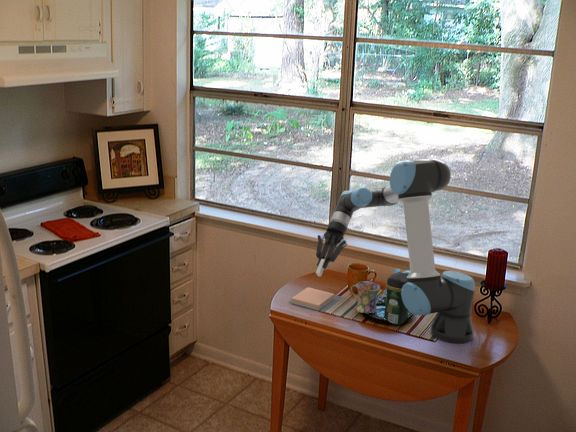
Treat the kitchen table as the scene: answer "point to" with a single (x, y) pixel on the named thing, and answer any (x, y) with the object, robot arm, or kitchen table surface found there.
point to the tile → (312, 298)
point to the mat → (328, 305)
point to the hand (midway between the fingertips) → (318, 274)
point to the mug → (366, 296)
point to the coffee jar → (395, 299)
